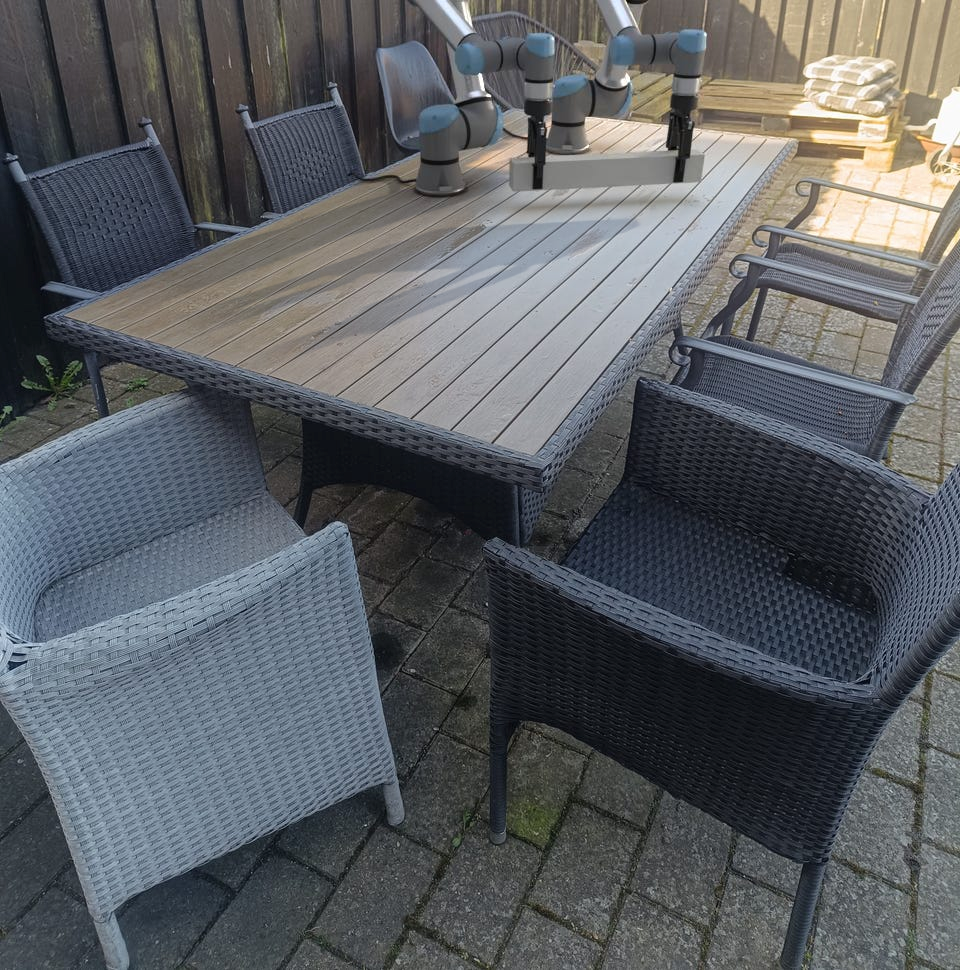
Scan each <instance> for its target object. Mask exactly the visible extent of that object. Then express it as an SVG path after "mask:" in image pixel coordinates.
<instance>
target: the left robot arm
mask: <svg viewBox="0 0 960 970" xmlns="http://www.w3.org/2000/svg"><path fill="white" fill-rule="evenodd" d="M406 1H407V2H408V4H410V5H411V6H413V7H417V8H418V9H419V11H420V12H421V13H422V14H423V15H424V17H425V18H426V19H427V21H429V23H430V24H431V25H432V27H433V28H434V29H435V30H436V32H437V33H438V34H439V35H440V36H441V37H442V38H443V40H444V41H445V45H446V49H447V54H448V59H449V64H450V69H451V73H452V80H453V83H454V89H455V90H454V91H455V94H456V99H455V100H454V102H453V103H452V104H451V103H450V104H449V103H443V104H434V105H431V106H428V107H426V108H425V109H423V110H422V111H421V112H420V114H419V116H418V134H419V135H418V136H419V157H420V158H419V159H420V161H419V162H420V164H419V168H418V172H417V176H416V178H410V179H406V180H403V179H402V178H401V177H400V176H399V175H396V174H385V175H379V176H377V177H371V178H370V177H369V178H364V177H361V176H360V175H358V174H357V172H355V171H349V172H348V173H347V177H351V176H354V177H355V178H356V179H357V180H358V181H361V182H375V181H379V180H383V179H397V181H398V182H399V183H400V184H411V183H415V185H414V186H415V192H417V193H418V194H420V195H424V196H430V197H450V196H455V195H459V194H461V193H463V192H464V191H466V181H465V179H464V176H463V172H462V169H461V165H460V152H461V151H467V150H473V149H478V148H479V149H480V148H483V149H484V148H486V147H489V146H493V145H495V144H496V143H498V141H499V140H500V139H501V136H502V133H503V131H504V130H503V127H504V113H503V111H502V108H500V106H499V105H498V104H497V103H494V102H493V99H492V95H491V94H490V93H488V92H487V91H486V90H485V84H484V80H483V79H484V78H483V74H490V73H497V72H498V73H499V72H506V71H514V70H515V71H516V70H517V71H522V72H524V75H525V76H524V93H523V95H524V97H525V99H523V104H524V106H523V112H524V115H526V116H528V117H527V137H528V139H526V140H527V141H526V142H527V143H526V144H527V145H526V155H527V157H534V160H535V163H534V164H532V166H533V189H542V188H543V166H544V165H545V164H546V156H547V150H546V138H547V136H548V127H547V123H546V121H545V117H546V116H550V115H552V99H551V98H553V97H552V93H553V88H554V87H555V86H554V82H553V81H554V68H555V67H554V66H555V54H556V50H555V36H553V35H552V34H550V33H545V32H535V33H528V34H527V35H526V37H525V39H524V38H520V37H517V36H503V37H502V38H500V39H496V40H486V41H485V40H484V39H483V37H481V36H480V35H479V34H478V32H477V31H476V30H475V29H474V27H473V26H474V25H473V22H472V15H471V11H470V5H469V3H470V1H471V0H406Z"/></svg>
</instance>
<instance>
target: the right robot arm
mask: <svg viewBox="0 0 960 970" xmlns="http://www.w3.org/2000/svg"><path fill="white" fill-rule="evenodd" d="M594 1H595V3H596V6H597V8H598V11H599V12H600V14H601V17H602V20H603V22H604V23H605V26H606V28H607V30H608V36H607V41H606V46H605V50H604V55H603V60H602V64H601V67H600V68H598V69H597V70H596V71H595V75H594V79H589V78H588V76H587V75H585V74H570V75H565V76H562V77H559V78H557V79H556V80H554V82H553V85H554V86H555V87H554V88H552V97H551V98H552V99H551V100H552V112H551V123H550V128H549V131H548V133H547V137H546V152H549V153H553V154H558V155H581V154H584V153H586V152H588V151H589V147H590V146H589V140H588V137H587V136H588V135H587V131H586V118H591V117H608V116H609V117H615V116H620V115H623V114H625V113H626V112H627V111H628V109H629V107H630V105H631V102H632V98H633V83H632V81H631V79H630V76H629V74H628V69H629V67H630V66H632V67H633V66H647V65H648V66H653V65H654V66H655V65H673V66H674V70H673V75H672V82H671V83H672V84H671V92H672V93H671V95H670V102H669V108H670V109H671V110H674V111H669V116H668V117H669V120H668V121H669V122H668V126H667V127H668V128H667V134H666V141H665V148H666V149H667V151H671V150H678V157H676V158H675V159H676V164H675V171H674V179H673V182H674V184H677V183H676V182H683V178H684V171H685V163H686V159H689V158H690V153H691V150H692V145H693V136H694V129H695V124H696V123H695V120H692V111H695V110H697V108H698V104H699V98H700V97H699V94H698V93H700V88H701V84H702V83H703V80H702V74H703V68H704V62H705V54H706V50H707V38H708V37H707V32H706V31H704V30H701V29H688V28H687V29H682V30H680V31H679V32H677V31H667V32H665V33H656V34H654V33H653V34H642V33H641V30H640V29H639V25H640V20H641V16H642V13H643V7H644V5H645V4H647V3H649V2H650V0H594ZM503 131H504V132H505V133H507V134H508V135H510V136H511V137H513V138H518V139H522V140H528V136H521V135H518V134H515V133H513V132H511V131H510V130H508V129H506V128H505V127H504V126H503Z"/></svg>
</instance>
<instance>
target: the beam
mask: <svg viewBox="0 0 960 970" xmlns="http://www.w3.org/2000/svg"><path fill="white" fill-rule="evenodd" d="M705 156H706V154H705V153H704V152H702V151H701V150H699V149H698V148H695V149H691V153H690V158H689V159H686V163H685V171H684V178H683V182H676V183H674V182H673V179H674V171H675V164H676V159H675V158H676V157H678V150H671V151H668V150H653V151H632V152H629V151H627V152H609V153H587V154H586V153H585V154H584V153H583V154H562V155H546V164H545V165H544V166H543V188H542V189H533V166H532V164H534V163H535V160H534V157H528V156H523V157H520V156H519V157H509V164H508V165H509V167H508V168H509V171H508V172H509V173H508V186H509V187H510V189H511V191H512V192H513V193H515V192H516V193H518V192H519V193H520V192H531V191H532V192H536V191H537V192H538V191H557V190H558V191H559V190H575V189H591V188H592V189H594V188H595V189H596V188H610V187H611V188H615V187H632V186H635V187H636V186H652V185H653V186H654V185H671V184H688V183H689V184H693V183H702V177H703V171H704V164H705V158H706V157H705Z"/></svg>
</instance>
